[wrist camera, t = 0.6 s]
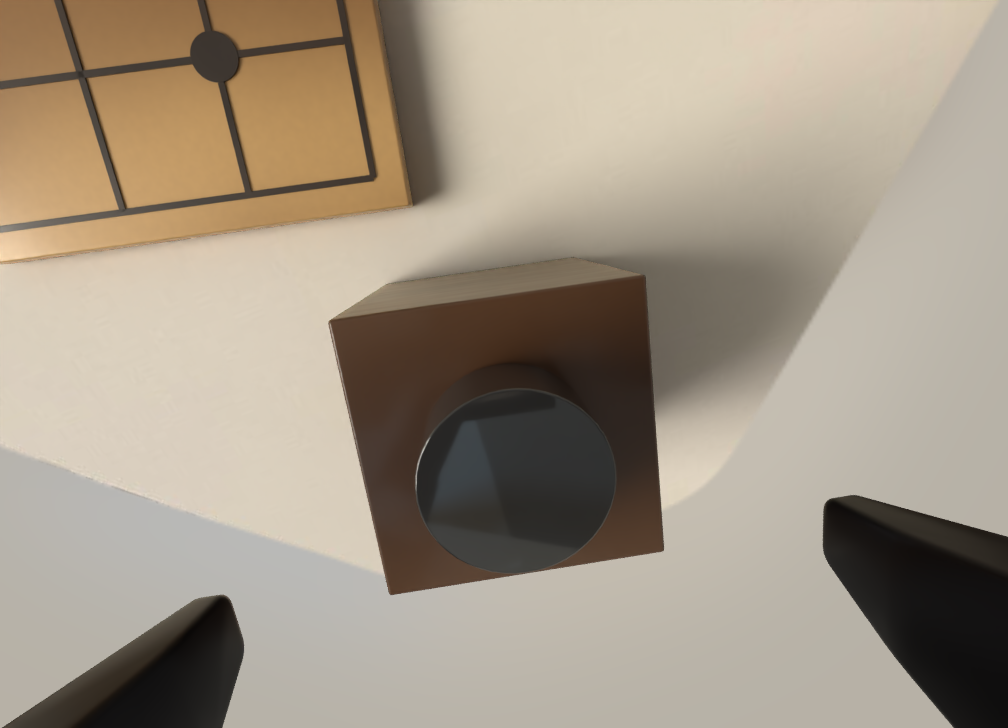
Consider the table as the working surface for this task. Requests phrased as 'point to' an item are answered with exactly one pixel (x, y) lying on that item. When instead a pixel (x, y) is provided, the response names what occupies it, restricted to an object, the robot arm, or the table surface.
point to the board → (190, 120)
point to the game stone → (513, 470)
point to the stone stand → (485, 342)
